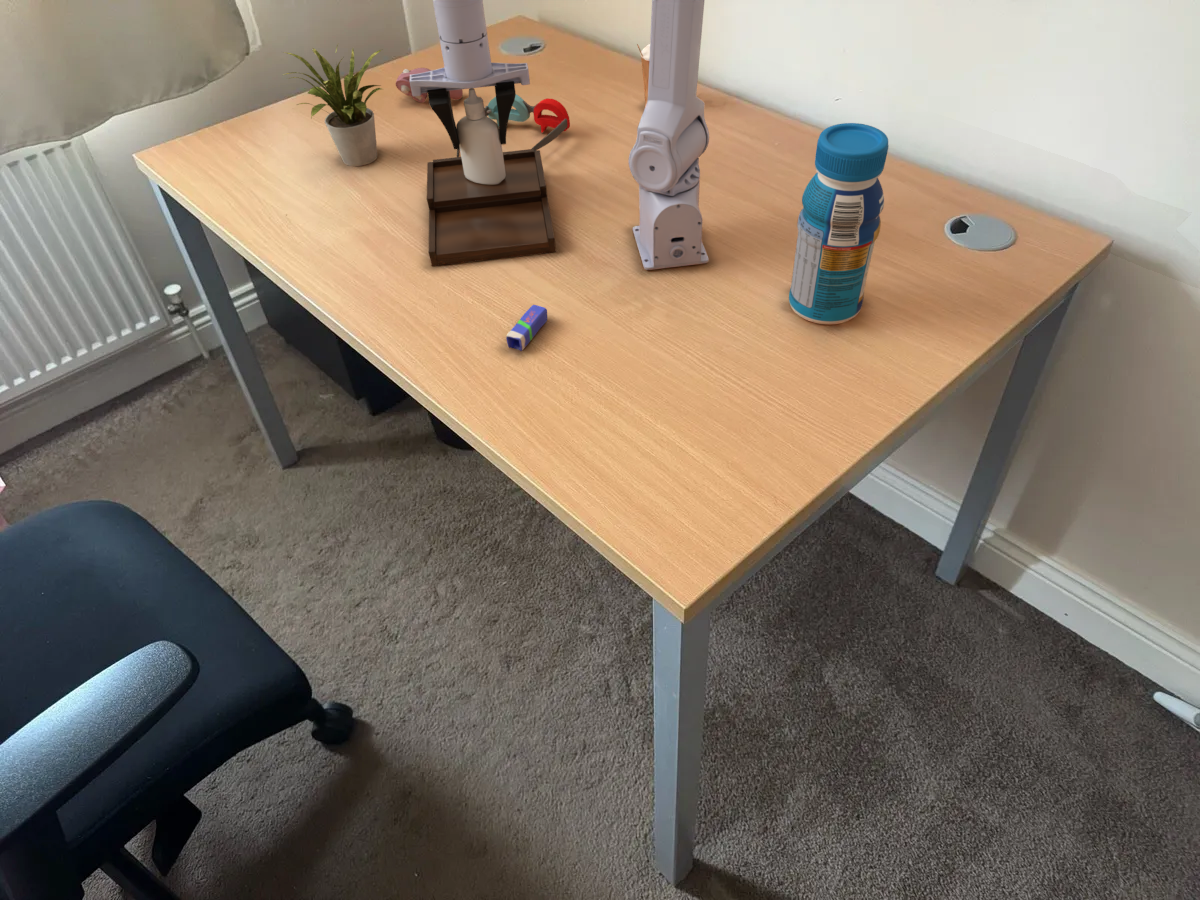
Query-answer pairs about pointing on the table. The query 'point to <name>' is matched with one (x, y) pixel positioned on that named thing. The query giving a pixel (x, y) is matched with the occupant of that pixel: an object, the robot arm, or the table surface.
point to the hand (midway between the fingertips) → (480, 143)
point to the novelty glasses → (523, 114)
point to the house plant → (346, 111)
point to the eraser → (527, 327)
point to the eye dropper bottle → (480, 144)
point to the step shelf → (488, 211)
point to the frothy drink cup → (645, 68)
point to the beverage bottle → (839, 224)
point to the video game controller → (405, 88)
